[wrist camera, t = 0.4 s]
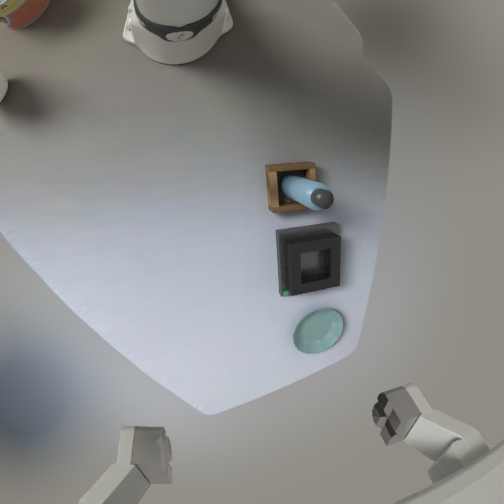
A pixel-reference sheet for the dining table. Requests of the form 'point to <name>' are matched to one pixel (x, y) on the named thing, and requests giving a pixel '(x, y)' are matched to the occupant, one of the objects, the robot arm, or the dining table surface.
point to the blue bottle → (306, 192)
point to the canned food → (21, 12)
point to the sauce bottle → (3, 85)
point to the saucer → (318, 331)
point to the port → (308, 258)
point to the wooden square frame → (273, 187)
